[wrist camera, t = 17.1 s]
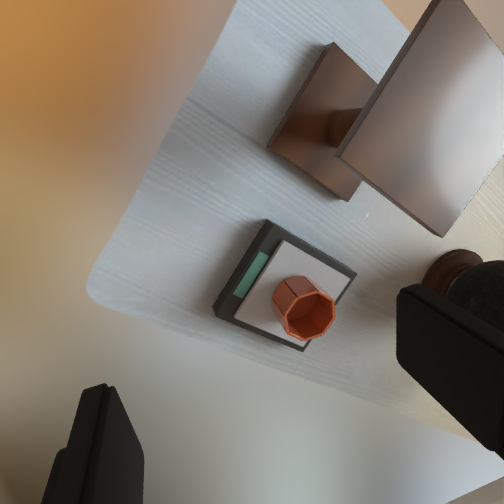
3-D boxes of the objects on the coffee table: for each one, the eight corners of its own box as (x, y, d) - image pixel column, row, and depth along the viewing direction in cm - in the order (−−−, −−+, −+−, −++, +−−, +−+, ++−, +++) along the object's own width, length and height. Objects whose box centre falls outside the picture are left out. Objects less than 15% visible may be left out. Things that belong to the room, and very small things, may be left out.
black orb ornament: (407, 324, 52) (496, 393, 38) (425, 245, 47) (534, 292, 34) (473, 315, 55) (576, 375, 41) (495, 240, 51) (620, 281, 37)
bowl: (275, 325, 41) (288, 346, 37) (268, 283, 39) (281, 301, 35) (319, 311, 42) (337, 330, 38) (315, 269, 40) (333, 285, 36)
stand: (266, 146, 36) (338, 157, 22) (326, 44, 34) (451, -17, 20) (342, 199, 41) (443, 238, 27) (398, 113, 39) (541, 103, 25)
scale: (212, 306, 41) (216, 319, 39) (267, 218, 39) (275, 225, 36) (296, 342, 47) (304, 355, 44) (347, 266, 45) (360, 275, 42)
